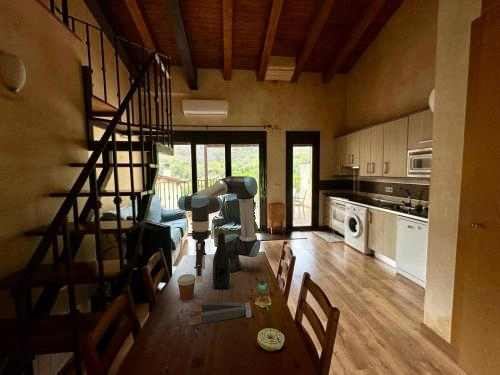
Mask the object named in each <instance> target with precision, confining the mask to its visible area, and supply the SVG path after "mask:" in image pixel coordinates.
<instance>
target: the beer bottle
mask: <svg viewBox="0 0 500 375" xmlns="http://www.w3.org/2000/svg"><path fill="white" fill-rule="evenodd" d="M216 236H217V242H216V244H217V245H216V250H215V251H214V252H215V253H214V255H213V257H212V274H211V276H212V288H213V289H214V290H216V291H217V290H218V291H219V290H220V291H225V290H228V289H230V287H231V272H230V259H229V255H228V253H227V250H226V247H225V236H226V233H225V232H224V231H223V230H222V231H218V232H217V235H216Z"/></svg>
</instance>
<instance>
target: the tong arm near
mask: <svg viewBox="0 0 500 375" xmlns="http://www.w3.org/2000/svg"><path fill="white" fill-rule="evenodd" d="M242 317H243V318H244V317H246V314H245V307H244V306H241V307H234V308H228V309H221V310H214V311H208V312H196V313H189V316H188V318H189V320H188V322H189V324H188V325H189V326H194V325H200V324H207V323H213V322H218V321H220V322H221V321H224V320H225V321H226V320H229V319H231V320H232V319H236V318H242Z"/></svg>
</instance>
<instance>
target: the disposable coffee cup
mask: <svg viewBox="0 0 500 375" xmlns="http://www.w3.org/2000/svg"><path fill="white" fill-rule="evenodd" d="M176 281H177V285H178V291H179V296H180V300H181V301H184V302H186V301H187V302H189V301H191V300H193V298H194V295H195V294H194V292H195V286H196V276H195V275H194V274H192V273H187V274H186V273H185V274H182V275H180V276H179V277H178V278H177V280H176Z"/></svg>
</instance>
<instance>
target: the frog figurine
mask: <svg viewBox="0 0 500 375" xmlns="http://www.w3.org/2000/svg"><path fill="white" fill-rule="evenodd" d="M260 280H261V281H257V282H255V285H256V288H255V289H254V291H255V292H259V295H258V297H255V302H254V305H256V306H258V307H259V308H262V309H266V310H267V311H270V306H271V305H272V302H273V301H272V300H271V298H270V294H269V290H268V287H267V286H268V284H269V281H268V280H265V282H264V277H262V276H261V278H260ZM266 292H267V296H266V295H264V294H265V293H266ZM261 294H262V296H261Z"/></svg>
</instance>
